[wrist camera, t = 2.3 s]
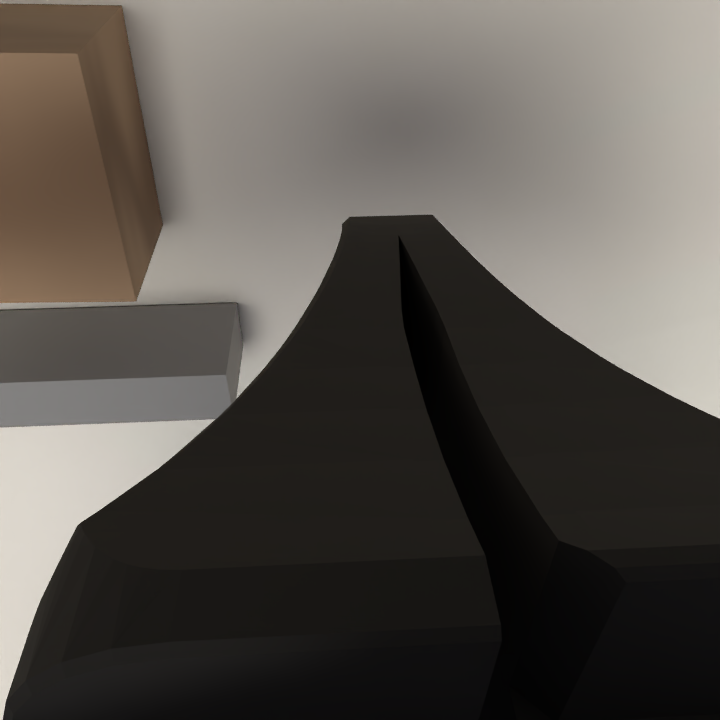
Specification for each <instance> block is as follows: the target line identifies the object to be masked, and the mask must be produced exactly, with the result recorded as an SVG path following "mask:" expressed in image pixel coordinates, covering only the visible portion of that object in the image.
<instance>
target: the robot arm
mask: <svg viewBox="0 0 720 720" xmlns="http://www.w3.org/2000/svg"><path fill="white" fill-rule="evenodd" d="M3 720H720V419H719V418H717V417H715V416H712V415H710V414H708V413H706V412H704V411H701V410H699V409H697V408H695V407H693V406H691V405H689V404H687V403H685V402H683V401H681V400H679V399H677V398H674V397H672V396H670V395H669V394H667V393H665V392H663V391H661V390H659V389H657V388H656V387H654V386H652V385H650V384H648V383H646V382H644V381H643V380H641V379H639V378H637V377H635V376H633V375H631V374H630V373H628V372H626V371H624V370H622V369H621V368H619V367H617V366H616V365H614V364H612V363H610V362H609V361H607V360H605V359H604V358H602V357H600V356H599V355H597V354H596V353H594V352H593V351H591V350H590V349H588V348H587V347H585V346H584V345H582V344H581V343H579V342H578V341H576V340H574V339H573V338H571V337H570V336H568V335H567V334H565V333H564V332H562V331H561V330H560V329H558V328H557V327H555V326H554V325H553V324H551V323H550V322H549V321H547V320H546V319H544V318H543V317H542V316H541V315H539V314H538V313H537V312H536V311H534V310H533V309H532V308H531V307H529V306H528V305H527V304H526V303H524V302H523V301H522V300H521V299H519V298H518V297H517V296H516V295H514V294H513V293H512V292H511V291H510V290H509V289H508V288H506V287H505V286H504V285H503V284H502V283H501V282H500V281H498V280H497V279H496V278H495V277H494V276H493V275H492V274H491V273H490V272H489V271H488V270H486V269H485V268H484V267H483V266H482V265H481V264H480V263H479V262H478V261H477V260H476V259H475V258H474V257H473V256H472V255H471V254H470V253H469V252H468V251H467V250H466V249H465V248H464V247H463V246H462V245H461V244H460V243H459V242H458V241H457V240H456V239H455V238H454V237H453V236H452V235H451V234H450V233H449V232H448V231H447V230H446V228H445V227H444V226H443V225H442V224H441V223H440V222H439V221H438V220H437V219H436V218H435V217H434V216H433V215H405V216H367V217H349V218H348V219H347V220H346V221H345V222H344V223H343V224H342V233H341V237H340V241H339V244H338V247H337V250H336V252H335V255H334V257H333V260H332V262H331V264H330V266H329V268H328V270H327V273H326V275H325V277H324V279H323V281H322V283H321V285H320V287H319V289H318V291H317V293H316V294H315V296H314V298H313V299H312V301H311V303H310V304H309V306H308V307H307V309H306V311H305V312H304V314H303V316H302V317H301V319H300V321H299V322H298V324H297V325H296V327H295V328H294V330H293V331H292V333H291V334H290V335H289V337H288V338H287V340H286V341H285V342H284V344H283V345H282V346H281V348H280V349H279V350H278V352H277V353H276V354H275V355H274V357H273V358H272V359H271V360H270V362H269V363H268V364H267V366H266V367H265V368H264V369H263V370H262V371H261V373H260V374H259V375H258V376H257V377H256V378H255V379H254V380H253V381H252V382H251V384H250V385H249V386H248V387H247V388H246V389H245V390H244V391H243V392H242V393H241V395H240V396H239V397H238V398H237V399H236V400H235V401H234V402H233V403H232V404H231V405H230V406H229V407H228V408H227V409H226V410H225V411H224V412H223V413H222V414H221V415H220V416H219V417H218V418H217V419H215V420H214V421H213V422H212V423H211V424H210V425H209V426H208V427H206V428H205V429H204V430H203V431H202V432H201V433H200V434H198V435H197V436H196V437H195V438H194V439H193V440H192V441H191V442H189V443H188V444H187V445H186V446H185V447H184V448H183V449H181V450H180V451H179V452H178V453H177V454H176V455H175V456H173V457H172V458H171V459H170V460H169V461H167V462H166V463H165V464H164V465H162V466H161V467H160V468H159V469H157V470H156V471H155V472H153V473H152V474H150V475H149V476H147V477H146V478H145V479H143V480H142V481H140V482H139V483H138V484H136V485H135V486H133V487H132V488H131V489H129V490H128V491H126V492H125V493H123V494H122V495H121V496H119V497H118V498H116V499H115V500H114V501H112V502H111V503H109V504H108V505H107V506H105V507H104V508H102V509H101V510H99V511H98V512H96V513H95V514H93V515H92V516H90V517H89V518H87V519H86V520H84V521H83V522H81V523H80V524H79V525H78V526H77V528H76V530H75V532H74V533H73V535H72V537H71V539H70V541H69V543H68V545H67V547H66V549H65V551H64V553H63V555H62V557H61V559H60V561H59V563H58V565H57V567H56V570H55V572H54V574H53V576H52V578H51V580H50V582H49V584H48V586H47V588H46V590H45V592H44V595H43V597H42V599H41V601H40V603H39V606H38V608H37V611H36V614H35V617H34V620H33V622H32V625H31V628H30V631H29V634H28V637H27V640H26V643H25V646H24V649H23V652H22V655H21V658H20V661H19V664H18V667H17V670H16V673H15V676H14V679H13V682H12V685H11V688H10V691H9V694H8V697H7V700H6V704H5V710H4V716H3Z"/></svg>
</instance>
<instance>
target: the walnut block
mask: <svg viewBox="0 0 720 720" xmlns="http://www.w3.org/2000/svg"><path fill="white" fill-rule="evenodd" d="M162 226H163V223H162V218H161V213H160V207H159V202H158V197H157V191H156V186H155V181H154V175H153V170H152V165H151V159H150V154H149V149H148V143H147V138H146V133H145V127H144V122H143V117H142V111H141V106H140V101H139V95H138V90H137V85H136V79H135V74H134V69H133V63H132V58H131V53H130V47H129V42H128V37H127V31H126V26H125V21H124V15H123V10H122V6H115V5H54V4H0V303H26V302H125V301H136V300H137V297H138V295H139V292H140V289H141V286H142V283H143V280H144V277H145V275H146V272H147V269H148V266H149V263H150V260H151V258H152V255H153V252H154V249H155V246H156V243H157V240H158V238H159V235H160V232H161V229H162Z"/></svg>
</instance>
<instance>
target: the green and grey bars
mask: <svg viewBox="0 0 720 720" xmlns="http://www.w3.org/2000/svg"><path fill="white" fill-rule="evenodd" d="M242 349H243V341H242V334H241V328H240V321H239V314H238V308H237V303H221V304H190V305H158V306H127V307H95V308H63V309H32V310H0V427H24V426H50V425H76V424H102V423H127V422H153V421H179V420H205V419H217V418H218V417H219V416H220V415H221V414H222V413H223V412H224V411H225V410H226V409H227V408H228V407H229V406H230V405H231V404H232V403H233V402H234V401H235V400H236V396H237V388H238V381H239V373H240V365H241V357H242Z"/></svg>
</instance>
